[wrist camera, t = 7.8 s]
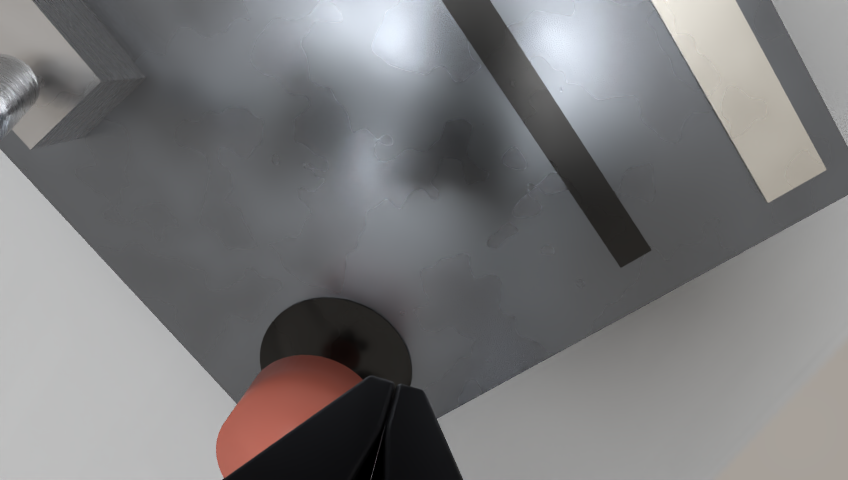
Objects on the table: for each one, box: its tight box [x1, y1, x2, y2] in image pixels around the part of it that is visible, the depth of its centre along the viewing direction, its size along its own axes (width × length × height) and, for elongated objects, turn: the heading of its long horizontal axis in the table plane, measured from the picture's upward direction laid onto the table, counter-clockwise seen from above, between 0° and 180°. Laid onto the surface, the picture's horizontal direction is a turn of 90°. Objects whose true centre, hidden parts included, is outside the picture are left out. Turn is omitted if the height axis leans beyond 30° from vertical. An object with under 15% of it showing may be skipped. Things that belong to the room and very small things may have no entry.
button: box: [216, 355, 363, 478], centre depth 15 cm, size 4×4×2 cm
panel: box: [0, 0, 848, 440], centre depth 15 cm, size 18×20×4 cm
